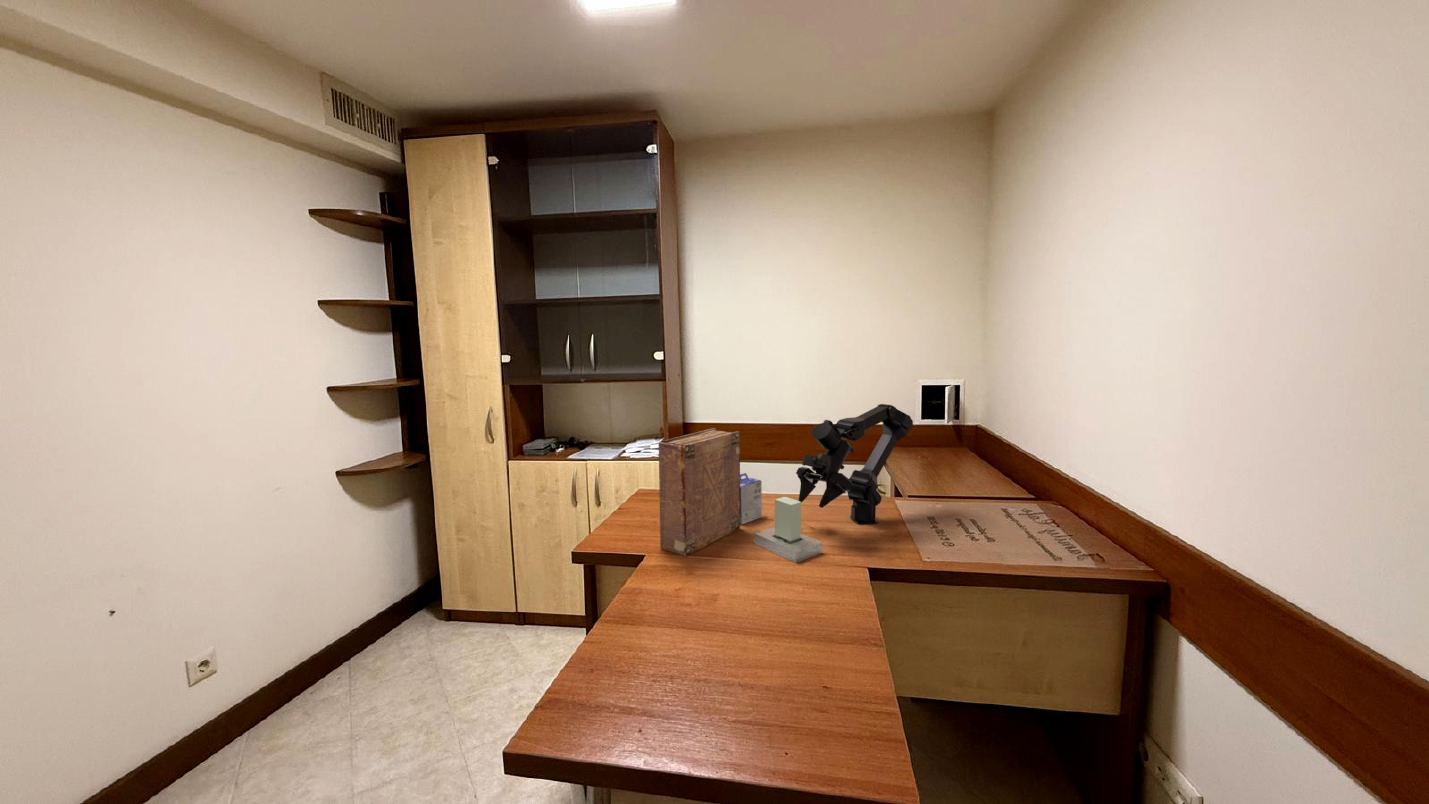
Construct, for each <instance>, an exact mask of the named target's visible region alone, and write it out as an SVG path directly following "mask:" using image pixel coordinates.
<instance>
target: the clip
mask: <svg viewBox="0 0 1429 804" xmlns="http://www.w3.org/2000/svg"><path fill="white" fill-rule="evenodd" d="M774 527H775V531H774V534H775V538H777V539H780V538H784V539H786V543H788V544H792V543H795V542H798V541H800V538H801V534H802V532H801V531H802V529H801V527H802V503H801V502H800V501H799V500H797V499H794V498H791V497H788V496H782V497H779V498H775V499H774Z"/></svg>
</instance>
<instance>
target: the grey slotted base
mask: <svg viewBox="0 0 1429 804" xmlns="http://www.w3.org/2000/svg"><path fill="white" fill-rule="evenodd" d="M774 531H775V526H772V527H769V528H767V529H763V530H759V531H757V532H754V534H753V535H754V536H753V543H754V544H755V545H757V546H759V547H761V548H763V549H765V550H768V551H769V552H772V553H774V554H776V555H778V556H780V557H782V558H785V559H787V560H788V561H791V562H793V563H796V564H797V563H799V562H802V561H806V560H808V559H810V558H812V557H815V556H817V555H820V554H822V553H823V541H821V540H817V539H816V538H813V537H810V536H809V535H805V534H803V533H801V538H800V541H798V542H795V543H792V544H788V543H786V539H784V538H780V539H777V538H775V534H774Z"/></svg>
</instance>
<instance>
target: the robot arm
mask: <svg viewBox="0 0 1429 804" xmlns="http://www.w3.org/2000/svg"><path fill="white" fill-rule="evenodd" d="M880 423H882V425H881V426H882V435H881V436H880V438H879V440H878V441H877V443H876V445H875V446H874V449H873V450H872V452H871V454H870V456H869V457H868V459H867V461H866V462H865V465H864V466H863V468H862V469H861V470H858V469H854V470H853V471H852V473H851V475H850V477H849V478H848V476H846V475H845V474H843V473H842V472H840V470H844V468H845V466H844V465H843V464H844V462H845V461H846V458H847V456H848V454H849V453H852V454H854V453H855V449H854V447H853V443H850V442H848V441H853V442H857V441H859V440H861V439H862V438H863V437H864V436H865V435H866V431H867V430H868V429H871V428H873V427H874V426H877V425H879V424H880ZM913 426H914V420H913V419H912V418H911V416H910V415H909V414H907V413H905V412H903V411H902V410H899V409H897V408H896V406H894V405H892V404H885V403H880V404H878V405H877V406H876V407H874V408H872V409H870V410H868V411H866V412H864V413H862V414H860V415H858V416H854V417H846V418H841V419H838V420H837V422H836V423H835V424H834V422H833V421H832V420H831V419H830V420H829V419H824V420H823V422H821V423H819V424H818V425H816V426H815V427H814V428H813V429H812V432H811V433H812V437H813V438H814V440H816V441H817V442H818V444H819V445H820V446H821V447H822V448H823V449H824V450H826V452H825V453H818V454H817V455H812V454H805V453H804V455H803V459H802V466H801V467H798V468H797V470H796V472H795V474H796V475H797V478H798V479H799V481H800V489H799V494H798V501H800V502H801V504H802V503H803V502H805V500H806V499H807V498H808V496H809V495H810V494H811V493H813V492H812V491H814V490H815V488H816V487H817V484H818V483H819V482H824V483H825V487H826V488H825V490H824V493H823V495H822V497H821V499H820V502H819V505H818V507H819V508H821V509H822V508H824V507H826V506H827V505H828V504H830V503H831V502H833V500H836V499H837V498H838V497H840V496H842V495H843V494H844V495H845V494H846V493H847V496H848V500H851V501H852V505H851V509H850V516H849V517H850V519H851V520H853V522H855V523H856V524H857V525H867V524H878V522H879V521H878V520H876V507H877V506H879V504H881V501H882V495H881V494H880V492H879V491H878V487H879V484H878V476H879V475H880V474H881V471H882V470H883V467H884V466H885V464H886V463H887V460H888V459H889V457H890V455H891V453H892V451H893V450H894V448H895V446H896V444H897V443H898V441H900V440H902V439H904V438H905V437H907V435H908V434H909V433H910V432H911V430H912V428H913ZM847 440H848V441H847ZM804 466H807V467H804ZM809 467H811V468H809Z"/></svg>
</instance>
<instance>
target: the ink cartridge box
mask: <svg viewBox="0 0 1429 804" xmlns="http://www.w3.org/2000/svg"><path fill="white" fill-rule="evenodd" d="M742 477H744V478H742ZM762 484H763V483H762V480H761V479H758V478H757V479H756V478H753V477H749V476H748V473H746V472H745V473H740V526H741V525H744V524H748V523H749V522H753V521H755V520H759V519H761V518H762V517H763V510H762V509H763V503H762V502H763V497H762V496H763V495H762V492H763V491H762V489H763V488H762Z"/></svg>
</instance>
